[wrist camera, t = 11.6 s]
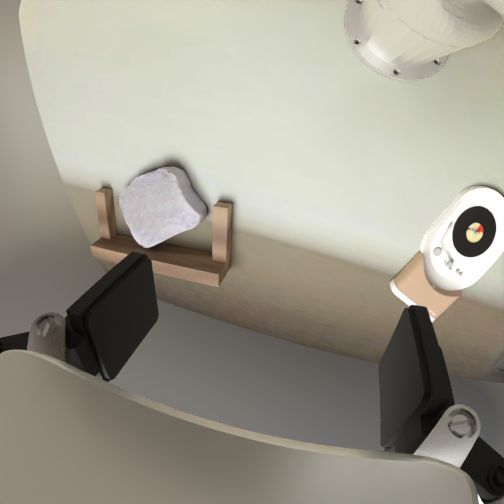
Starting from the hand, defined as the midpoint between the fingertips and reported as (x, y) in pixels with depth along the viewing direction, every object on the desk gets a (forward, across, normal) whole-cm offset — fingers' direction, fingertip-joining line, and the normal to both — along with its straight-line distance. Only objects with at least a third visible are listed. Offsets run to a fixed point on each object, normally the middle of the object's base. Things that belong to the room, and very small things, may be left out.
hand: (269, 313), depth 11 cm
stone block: (+29, +20, +8) cm, 36 cm away
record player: (+29, -22, +8) cm, 37 cm away
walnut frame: (+28, +21, +12) cm, 37 cm away
